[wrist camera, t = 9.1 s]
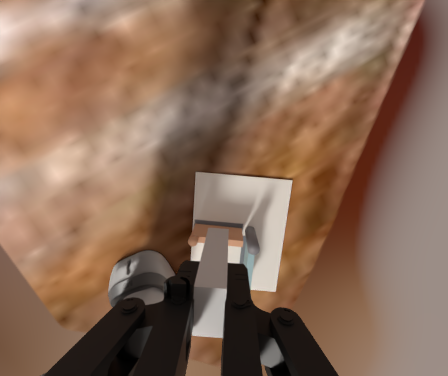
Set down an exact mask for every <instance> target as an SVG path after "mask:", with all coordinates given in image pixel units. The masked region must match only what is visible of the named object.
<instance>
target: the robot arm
mask: <svg viewBox="0 0 448 376" xmlns="http://www.w3.org/2000/svg"><path fill="white" fill-rule="evenodd" d="M228 236H229V229H221V228H208V231H207V235H206V239H205V243H204V247H203V251H202V255H201V259H200V261H187V260H186V261H185V262H183V263H182V264H181V265H180V268H179V270H178V273H177V275H175V276H171V277H169V278H168V279H166V281H165V282H164V299H163V300H162V301H160V302H158V303H154V304H149V305H145V302H144V301H143V300H142V299H140V298H136V297H131V298H126V299H124V300H122V301H120V302H119V303H117V304H116V305H115V306H114V307H113V308H112V309H111V310H110V311H109V312H108V313H107V314H106V315H105V316H104V317H103V318H102V319H101V320H100V321H99V322H98V323H97V324H96V325H95V326H94V327H93V328H92V329H91V330H90V331H89V332H88V333H86V335H84V337H82V338H81V339H80V340H79V341H78V342H77V343H76V344H75V345H74V346H73V347H72V348H71V349H70V350H69V351H68V352H67V353H66V354H65V355H64V356H63V357H62V358H61V359H60V360H59V361H58V362H57V363H56V364H55V365H54V366H53V367H52V368H51V369H50V370H49V371H48V372H47V373H46V374H45V375H44V376H185V374H186V369H187V364H188V358H189V353H190V348H191V335H192V336H203V337H216V338H223V341H222V356H221V376H263V375H262V366H261V364H263V365H265V370H266V373H267V375H268V376H338V374H337V372H336V371H335V370H334V368H333V366H332V365H331V363H330V362H329V360H328V359H327V357H326V356H325V354H324V353H323V351H322V350H321V348H320V347H319V345H318V344H317V342H316V341H315V339H314V338H313V336H312V335H311V333H310V332H309V330H308V329H307V327H306V326H305V324H304V323H303V321H302V320H301V318H300V317H299V316H298V314H297V313H295V312H294V311H292V310H291V309H287V308H281V307H279V308H276V309H274V310H273V311H272V312H271V313H268V312H265V311H263V310H261V309H259V308H257V307H256V306H255V305H254V304H253V301H252V300H251V294H250V285H249V277H248V269H247V268H246V266H245V265H244V264H238V263H228Z"/></svg>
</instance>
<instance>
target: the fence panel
mask: <svg viewBox="0 0 448 376" xmlns="http://www.w3.org/2000/svg"><path fill="white" fill-rule="evenodd" d="M208 228H221V229H229V236H228V246H236V247H243V234H242V228H234V227H225V226H215V225H205V224H196V223H195V226H194V228H193V231H192V233H191V236H190V237H189V239H188V244H189V245H190V246H196V245H197V243H205V239H206V235H207V231H208Z"/></svg>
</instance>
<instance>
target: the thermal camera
mask: <svg viewBox="0 0 448 376" xmlns="http://www.w3.org/2000/svg"><path fill="white" fill-rule="evenodd" d="M171 276H175V273H174V271H173V270H172V268H171V266H170V265H169V263H168V261H167V260H166V259H165V258H164V256H162V255H161V254H160V253H158V252H156V251H152V250H146V251H142V252H139V253H136V254H134V255H132V256H130V257H127V258H125V259H123V260H121V261H119V262H118V263H117V264H116V265H115V266H114V268H113V270H112V274H111V278H110V282H109V292H108V297H109V301H110V304H111V306H112V307H114V306H115V305H116V304H117V303H119V302H120V301H122V300H124V299H126V298H131V297H136V298H140V299H142V300H143V301H144V302H145V305H149V304H154V303H158V302H160V301H162V300H163V299H164V282H165V281H166V279H168V278H169V277H171ZM45 374H46V373H45ZM45 374H43V375H41V376H44V375H45Z"/></svg>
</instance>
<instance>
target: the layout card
mask: <svg viewBox="0 0 448 376" xmlns="http://www.w3.org/2000/svg"><path fill="white" fill-rule="evenodd" d="M291 187H292V180H285V179H274V178H262V177H251V176H239V175H228V174H216V173H205V172H196V177H195V194H194V212H193V228H194V226H195V223H196V224H205V225H215V226H225V227H234V228H242V234H243V247H236V246H228V263H238V264H243V263H244V254H245V245H246V236H245V228H246V227H248V226H252V227H254V229H255V232H256V235H257V239H258V243H259V247H260V251H259V253H258V254H256V255H255V257H254V265H253V273H252V281H251V289H250V290H260V291H271V292H276V286H277V279H278V273H279V266H280V260H281V253H282V246H283V240H284V233H285V227H286V220H287V213H288V207H289V200H290V194H291ZM192 231H193V229H192ZM203 247H204V243H197V245H196V246H192V247H191V261H200V259H201V255H202V251H203Z"/></svg>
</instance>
